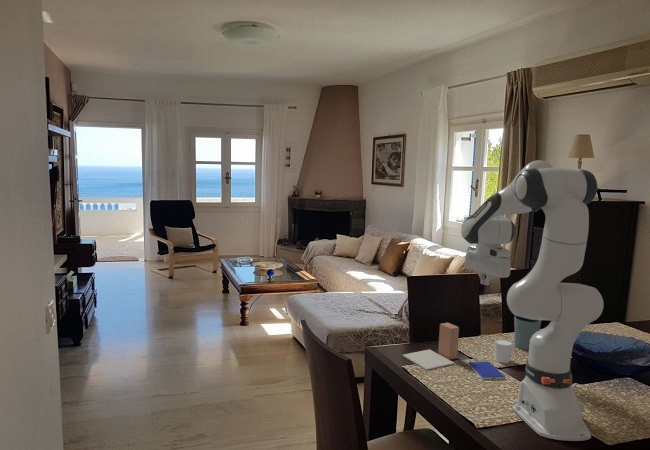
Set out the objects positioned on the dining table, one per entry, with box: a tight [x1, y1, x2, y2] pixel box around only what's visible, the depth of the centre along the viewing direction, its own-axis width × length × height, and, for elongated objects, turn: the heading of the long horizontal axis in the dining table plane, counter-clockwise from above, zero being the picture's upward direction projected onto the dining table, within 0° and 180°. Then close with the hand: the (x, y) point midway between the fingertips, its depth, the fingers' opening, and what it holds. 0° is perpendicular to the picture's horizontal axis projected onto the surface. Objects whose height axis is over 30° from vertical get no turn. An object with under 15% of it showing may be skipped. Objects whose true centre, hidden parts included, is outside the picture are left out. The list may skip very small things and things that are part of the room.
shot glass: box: [493, 339, 515, 364], centre depth 178 cm, size 7×7×7 cm
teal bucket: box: [513, 315, 542, 352], centre depth 192 cm, size 10×10×12 cm
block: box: [437, 322, 460, 361], centre depth 180 cm, size 6×4×12 cm, turn 28°
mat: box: [402, 349, 456, 371], centre depth 177 cm, size 14×13×1 cm
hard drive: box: [467, 361, 506, 381], centre depth 168 cm, size 2×8×12 cm
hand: (484, 284), depth 183 cm, fingers closed
